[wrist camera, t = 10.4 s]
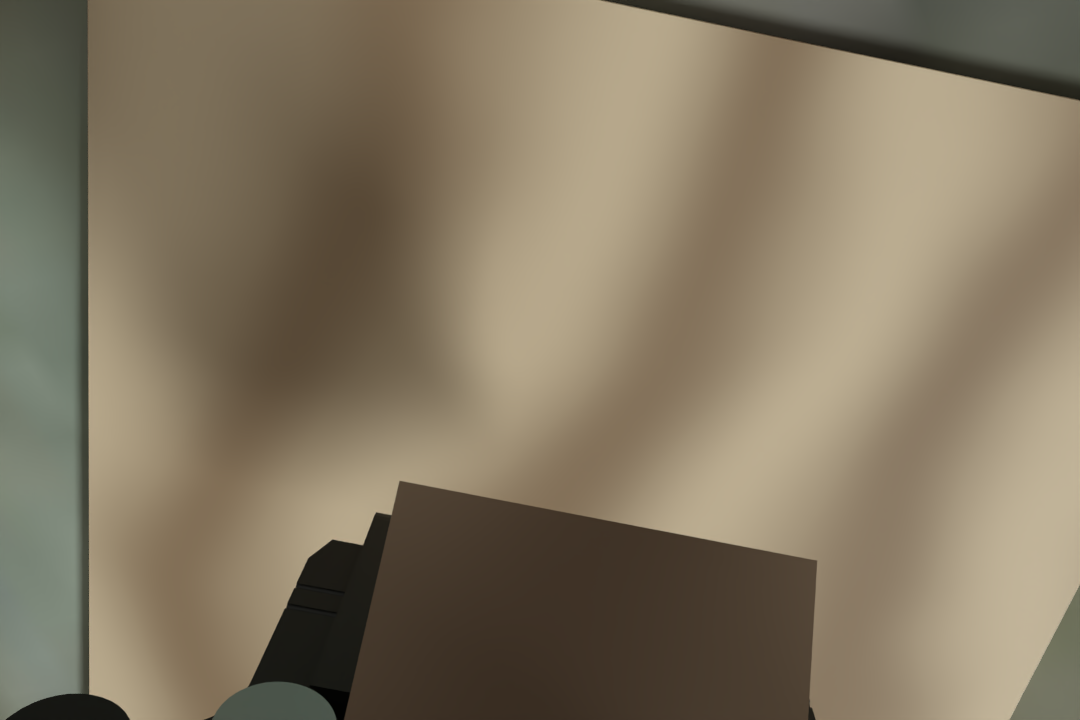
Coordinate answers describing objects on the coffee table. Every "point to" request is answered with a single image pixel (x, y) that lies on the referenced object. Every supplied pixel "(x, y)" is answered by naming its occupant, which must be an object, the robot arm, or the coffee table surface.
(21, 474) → the coffee table surface
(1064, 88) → the coffee table surface
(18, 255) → the coffee table surface
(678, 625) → the white block
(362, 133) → the wooden board
